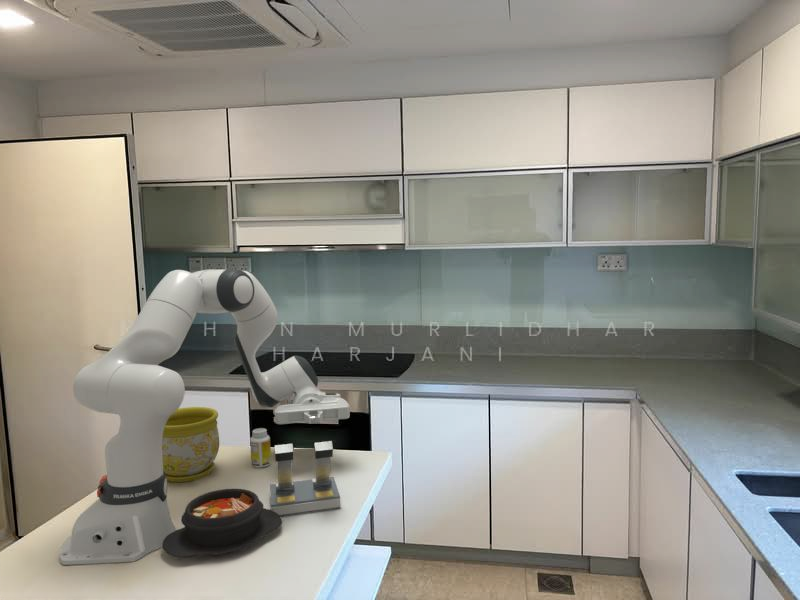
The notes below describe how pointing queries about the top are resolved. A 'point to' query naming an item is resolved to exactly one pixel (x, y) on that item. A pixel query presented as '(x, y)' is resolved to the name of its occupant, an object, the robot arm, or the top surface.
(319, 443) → the lever right
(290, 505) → the switch unit
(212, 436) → the flowerpot
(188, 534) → the casserole
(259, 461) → the supplement bottle
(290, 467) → the lever left
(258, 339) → the robot arm
